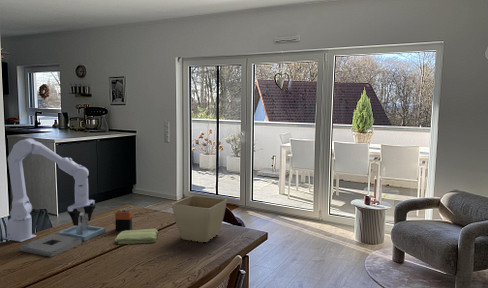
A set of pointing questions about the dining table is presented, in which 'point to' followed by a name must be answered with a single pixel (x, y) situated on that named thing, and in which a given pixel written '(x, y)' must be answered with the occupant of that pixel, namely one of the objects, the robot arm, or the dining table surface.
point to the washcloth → (137, 236)
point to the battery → (123, 220)
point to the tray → (91, 233)
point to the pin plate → (45, 247)
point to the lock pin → (82, 224)
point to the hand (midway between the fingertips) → (82, 222)
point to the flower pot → (199, 217)
